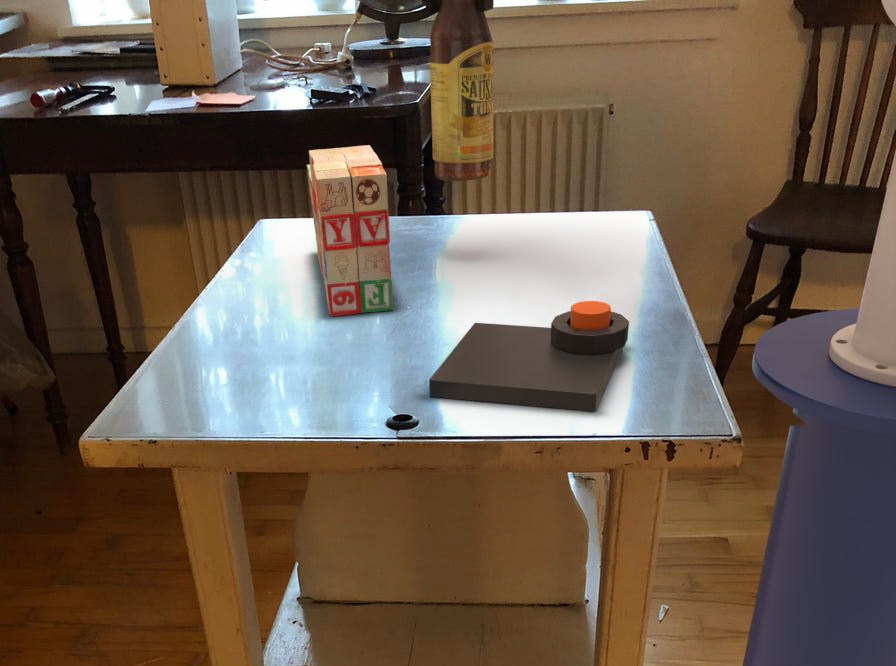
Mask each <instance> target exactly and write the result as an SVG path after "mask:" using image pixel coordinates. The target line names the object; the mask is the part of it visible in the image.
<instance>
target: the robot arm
mask: <svg viewBox="0 0 896 666" xmlns="http://www.w3.org/2000/svg"><path fill="white" fill-rule="evenodd" d="M421 3H422V4H425V13H426V15H432V14H436V13H438V12H439V9H440V7H441V0H421ZM494 3H495V2H494V0H478V10H480V11H484V12H488V11H490V10H493V9H494V5H495V4H494ZM881 4H882V7H883V9H884V11H885V13H886V15H887V16H888V18H889V20H890V21H891V22H892V23H893V25H894V26H895V27H896V0H881ZM875 234H876V235H875V240H874V244H873V248H872V253H871V256H870V262H869V266H868V270H867V274H866V279H865V283H864V287H863V292H862V296H861V301H860V306H859V308H860V309H859V313H858V318H857V322H856V324H853V325H850V326H847V327H845V328H843V329H841V330H839V331H838V332H837V333H836V334H834V335H833V337H832V339H831V343H830V348H829V355H830V358H831V360H832V361H833V362H834V363H835V364H836V365H837V366H838V367H840V368H841V369H843V370H844V371H846V372H848V373H850V374H852V375H854V376H856V377H859V378H862V379H864V380H867V381H870V382H874V383H878V384H882V385H886V386H891V387H896V150H895V151H894V156H893V160H892V163H891V169H890V174H889V177H888V182H887V187H886V191H885V194H884V199H883V204H882V209H881V212H880V217H879V222H878V225H877V231H876V233H875Z"/></svg>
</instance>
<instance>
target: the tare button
mask: <svg viewBox="0 0 896 666" xmlns="http://www.w3.org/2000/svg"><path fill="white" fill-rule="evenodd" d="M570 311H571V317H570V327H573V328H576V329H580V330H599V329H605V328H608V327H609V326H610V315H611V312H612V307H611V305H610V304H609V303H606V302H603V301H599V300H598V301H597V300H584V301H578V302H576V303H573V304H572V305H571V306H570Z"/></svg>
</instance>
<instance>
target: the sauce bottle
mask: <svg viewBox="0 0 896 666" xmlns="http://www.w3.org/2000/svg"><path fill="white" fill-rule="evenodd" d="M429 34H430V36H429V42H430V43H429V44H430V61H429V75H430V76H429V78H430V79H429V80H430V106H431V109H430V110H431V140H432V142H431V143H432V160H433V161H434V175H435V177H436V178H437V179H438V180H441V181H449V182H462V181H464V182H466V181H474V180H480V179H484V178H487V177H488V176H489V175H490V174H491V173H492V169H493V159H494V40H493V38H492V33H491V31H490V27H489V23H488V19H487V16H486V12H485V11H480V10H478V0H441V7H440V9H439V12H437V14H436V16H435V19H434V21H433V22H432V25H431V29H430V33H429Z"/></svg>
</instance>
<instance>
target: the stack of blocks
mask: <svg viewBox="0 0 896 666" xmlns="http://www.w3.org/2000/svg"><path fill="white" fill-rule="evenodd" d="M308 156H309V164H306V170H307V171H306V174H307V181H308V183H307V184H308V190H309V191H308V192H309V197H310V201H311V209H312V219H313V225H314V233H315V242H316V250H317V251H316V252H317V256H318V263H319V267H320V273H321V277H322V279H323V285H324V287H325V295H326V296H325V297H326V302H327V308H328V314H329V316H330V317H337V316H348V315H358V314H366V313H377V312H389V311H393V310H394V295H393V292H394V291H393V277H392V270H391V269H392V268H391V251H390V248H391V247H390V243H391V234H390V218H389V216H390V215H389V203H388V177H387V175H388V174H387V172H386V171H385V169H384V167H383V163H382V161H381V160H380V158H379V156H378V154H377V153H376V152H375V151H374V149H373V147H372V146H371V145H370V144H368V145H356V146H346V147H334V148H324V149H323V148H322V149H311V150H308Z"/></svg>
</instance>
